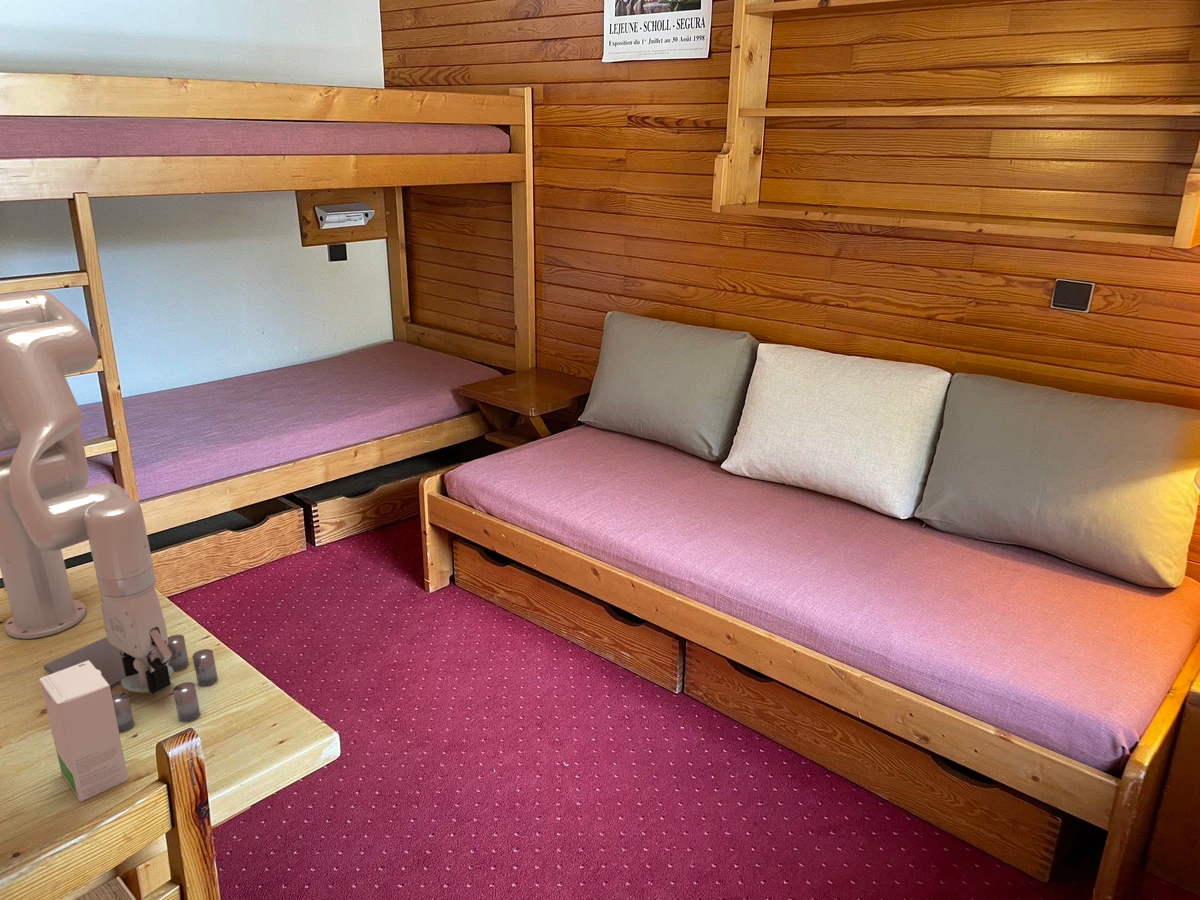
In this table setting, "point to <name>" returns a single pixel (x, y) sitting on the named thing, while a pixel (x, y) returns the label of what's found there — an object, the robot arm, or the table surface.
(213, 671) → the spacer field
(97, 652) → the mat
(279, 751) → the table surface
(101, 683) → the skincare box
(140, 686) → the pacifier
